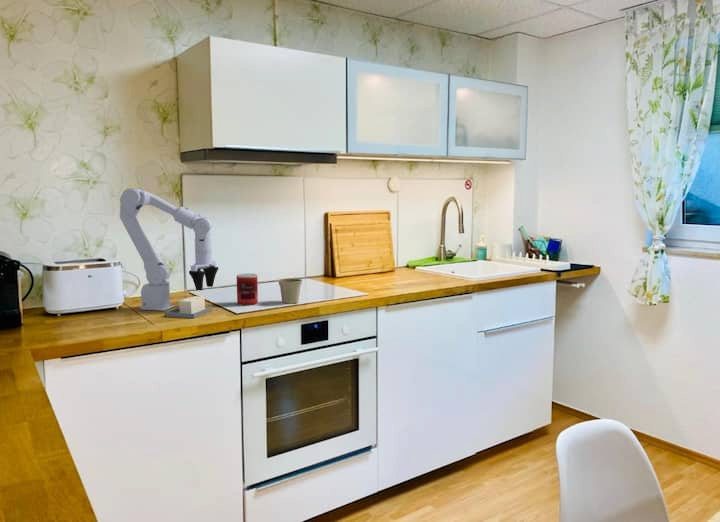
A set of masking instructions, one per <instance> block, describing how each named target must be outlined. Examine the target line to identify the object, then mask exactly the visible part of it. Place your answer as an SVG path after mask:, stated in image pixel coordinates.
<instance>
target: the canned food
mask: <svg viewBox="0 0 720 522" xmlns="http://www.w3.org/2000/svg"><path fill="white" fill-rule="evenodd" d="M258 282H259V281H258V274H256V273H238V274H236V301H237V304H238V305H239V306H255V305H257V304H258V303H259V302H258V301H259V299H258V298H259V297H258V296H259V294H258V293H259V292H258V291H259V290H258Z"/></svg>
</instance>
